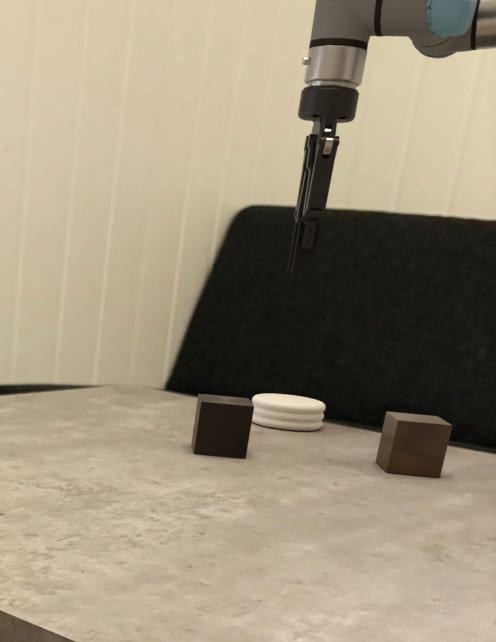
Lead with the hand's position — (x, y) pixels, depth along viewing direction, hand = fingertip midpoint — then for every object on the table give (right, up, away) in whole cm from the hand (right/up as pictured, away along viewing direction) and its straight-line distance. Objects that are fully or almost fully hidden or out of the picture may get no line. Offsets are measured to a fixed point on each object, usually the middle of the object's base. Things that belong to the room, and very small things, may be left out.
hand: (298, 273), depth 144 cm
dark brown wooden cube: (+5, -32, -26) cm, 42 cm away
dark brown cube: (-16, -30, -24) cm, 42 cm away
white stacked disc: (-3, -22, -3) cm, 23 cm away
